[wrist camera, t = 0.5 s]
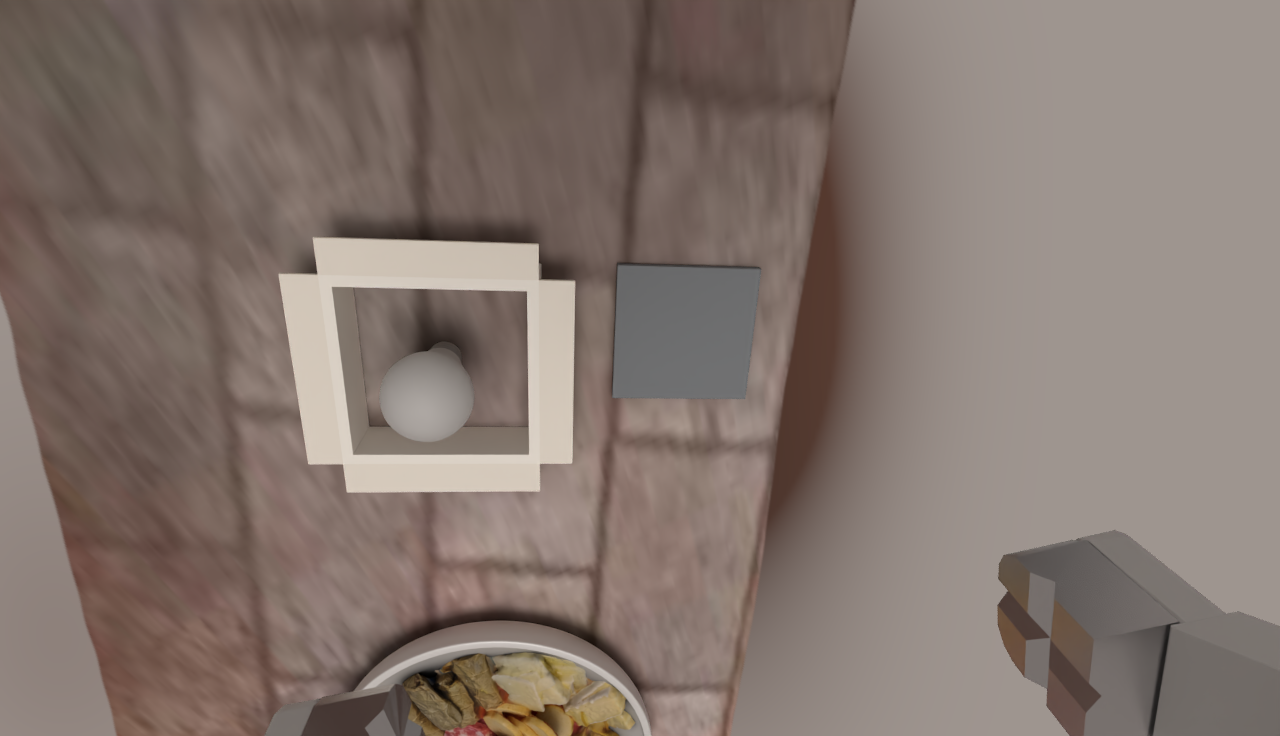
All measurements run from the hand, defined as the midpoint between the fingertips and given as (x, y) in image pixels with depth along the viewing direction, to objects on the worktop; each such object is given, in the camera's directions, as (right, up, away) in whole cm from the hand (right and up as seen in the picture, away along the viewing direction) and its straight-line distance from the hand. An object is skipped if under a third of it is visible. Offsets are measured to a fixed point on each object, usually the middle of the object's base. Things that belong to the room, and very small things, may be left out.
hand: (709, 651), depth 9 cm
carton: (-16, +5, +44) cm, 47 cm away
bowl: (-15, -32, +61) cm, 70 cm away
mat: (+2, +7, +45) cm, 46 cm away
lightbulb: (-16, +5, +44) cm, 47 cm away
